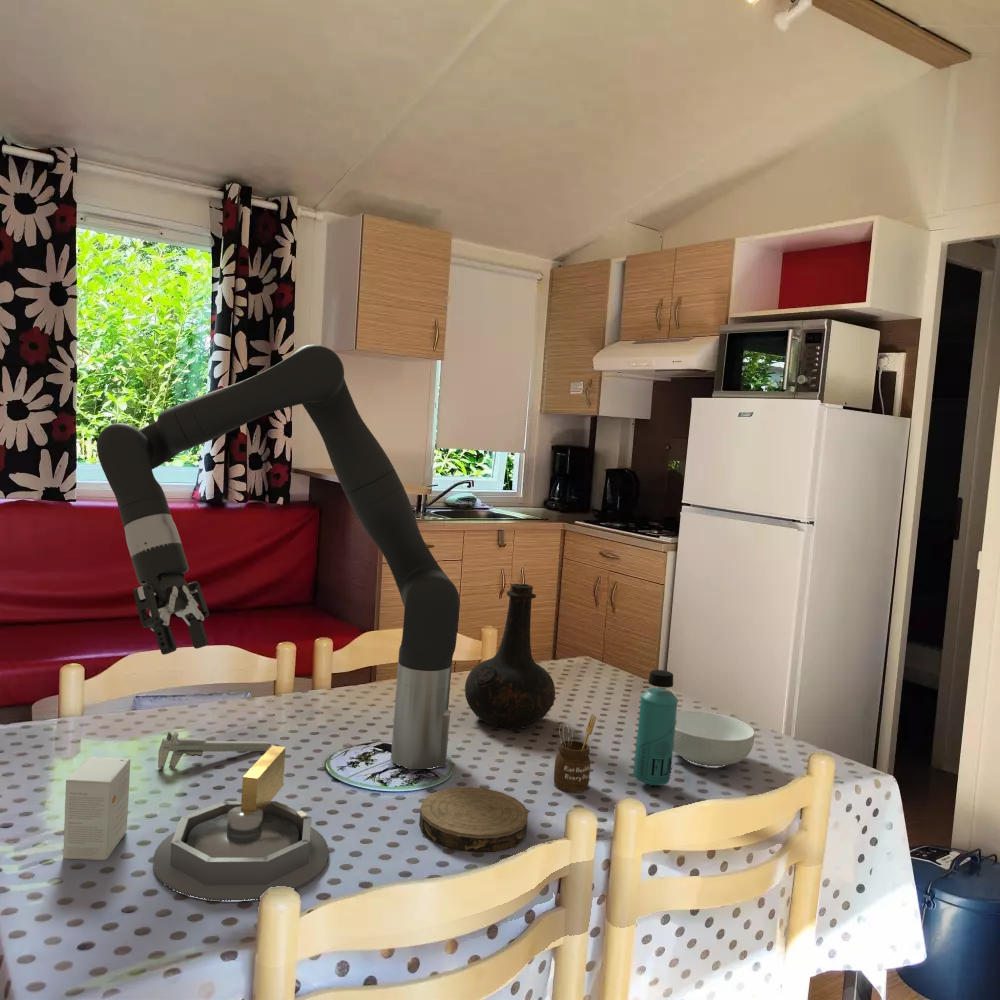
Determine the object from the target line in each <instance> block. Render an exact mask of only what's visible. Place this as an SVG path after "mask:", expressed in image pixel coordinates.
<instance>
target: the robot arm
mask: <svg viewBox="0 0 1000 1000" xmlns="http://www.w3.org/2000/svg"><path fill="white" fill-rule="evenodd" d="M298 405H302V406H303V408H304V410H305V411H306V412H307V414H308V416H309V417H310V419H311V420H312V422H313V424H314V425H315V427H316V428H317V430H318V432H319V434H320V436H321V438H322V440H323V443H324V446H325V448H326V450H327V454H328V457H329V460H330V463H331V466H332V468H333V470H334V473H335V475H336V478H337V480H338V482H339V484H340V487H341V488H342V490H343V492H344V495H345V497H346V498H347V501H348V502H349V504H350V506H351V508H352V510H353V512H354V514H355V515H356V517H357V518H358V520H359V522H360V524H361V525H362V526H363V528H364V529H365V531H366V533H367V534H368V535H369V537H370V538H371V540H372V541H373V542H374V543H375V545H376V546H377V547H378V549H379V550H380V552H381V553H382V555H383V556H384V559H385V561H386V563H387V565H388V567H389V570H390V573H392V576H393V578H394V581H395V583H396V584H395V585H396V587H397V589H398V592H399V596H400V598H401V602H402V604H403V607H404V613H403V624H402V637H401V643H400V646H399V648H398V649H399V650H398V659H397V661H398V662H397V673H396V687H395V700H394V714H393V726H392V741H391V749H390V750H391V753H390V754H391V755H390V760H391V759H392V760H391V762H392V761H393V762H394V763H396V764H398V765H400V766H403V767H407V768H411V769H410V770H413V769H427V768H433V767H437V766H447V758H448V757H447V756H448V754H447V753H448V745H449V744H448V742H449V730H450V719H451V718H450V717H451V712H450V709H449V706H450V705H449V704H450V691H451V682H452V681H451V680H452V670H453V669H452V666H453V657H454V653H455V651H456V645H457V639H458V628H459V621H460V620H459V618H460V617H459V616H460V605H461V604H460V594H459V591H458V589H457V587H456V585H455V584H454V582H453V581H452V580H451V579H450V577H449V576H448V575H447V574H446V573H445V572H444V571H443V569H442V567H440V565H439V563H438V562H437V560H436V559H435V557H434V555H433V554H432V552H431V550H430V549H429V548H428V546H427V544H426V542H425V540H424V538H423V536H422V535H421V531H420V529H419V526H418V521H417V519H416V515H415V513H414V509H413V506H412V504H411V502H410V501H411V500H410V498H409V497H408V493H407V491H406V489H405V487H404V485H403V483H402V481H401V479H400V476H399V475H398V473H397V471H396V469H395V468H394V465H393V464H392V462H391V460H390V457H388V454H387V453H386V451H384V449H383V447H382V446H381V444H380V443H379V441H378V440H377V438H376V437H375V436H374V434H373V433H372V431H370V429H369V427H368V425H366V423H365V422H364V419H362V416H361V415H360V413H359V411H358V409H357V407H356V405H355V402H354V400H353V396H352V394H351V393H350V390H349V387H348V385H347V382H346V379H345V368H344V365H343V362H342V360H341V358H340V357H339V355H338V354H337V353H336V352H335V351H334V350H333V349H331V348H329V347H327V346H324V345H321V344H307V345H305V346H304V345H303V346H301V347H300V348H298V349H296V350H295V351H294V352H293V353H292V354H291V355H289V356H287V357H286V358H285V359H283V360H281V361H280V362H278V363H276V364H275V365H273V366H271V367H270V368H269V367H268V369H266V370H264V371H261V372H259V373H258V374H256V375H253V376H251V377H249V378H247V379H244V380H242V381H239V382H236V383H233V384H231V385H228V386H224V387H222V388H220V389H216V390H213V391H210V392H207V393H205V394H201V395H199V396H197V397H194V398H191V399H189V400H185V401H184V402H182V403H179V404H177V405H174V406H171V407H169V408H167V409H164V410H163V411H161V412H160V413H159V414H158V416H157V420H156V421H154V422H152V423H151V424H148V425H146V426H145V427H143V428H140V429H138V428H137V427H136V426H134V425H131V424H129V423H124V422H116V423H115V422H114V423H111V424H109V425H107V426H106V427H104V429H103V430H102V431H101V432H100V434H99V435H98V437H97V441H96V452H97V458H98V461H99V464H100V466H101V469H102V471H103V473H104V475H105V478H106V480H107V482H108V484H109V486H110V488H111V490H112V492H113V494H114V497H115V499H116V503H117V508H118V511H119V516H120V519H121V522H122V525H123V529H124V533H125V541H126V544H127V548H128V551H129V556H130V559H131V561H132V566H133V568H134V572H135V575H136V579H137V583H138V584H139V585H141V586H139V587H136V588H134V589H133V590H132V591H133V597H134V601H135V605H136V608H137V609H136V610H137V612H138V616H139V620H140V623H141V626H142V628H144V629H145V628H149V629H150V630H151V631H152V632H154V635H155V638H156V641H157V645H158V648H159V650H160V653H161V655H164V656H165V655H169V654H171V653H173V652H176V651H177V650H178V649H177V645H176V641H175V637H174V635H173V630H172V627H171V626H169V625H170V619H171V615H172V614H175V615H176V616H177V617H179V618H182V619H183V621H184V622H185V623H186V625H187V629H188V630H187V631H188V633H189V636H190V640H191V642H192V645H193V648H194V649H197V650H198V649H201V648H203V647H207V646H208V645H209V640H208V637H207V633H206V629H205V626H204V623H203V621H204V620H205V619H206V618H208V617H209V616H210V612H209V608H208V606H207V603H206V600H205V597H204V594H203V591H202V589H201V585H200V583H199V581H198V580H195V581H192V582H189V583H187V581H186V580H185V577H184V576H185V574H186V573H188V571H189V570H190V567H189V564H188V560H187V558H186V557H187V556H186V554H185V551H184V547H183V544H182V541H181V537H180V534H179V531H178V529H177V526H176V523H175V522H174V520H173V516H172V513H171V510H170V507H169V504H168V503H169V502H168V499H167V498H166V495H165V494H166V493H165V492H164V490H163V488H162V486H161V485H160V483H159V482H158V480H157V479H156V477H155V475H154V472H153V470H154V469H156V468H158V467H160V466H161V465H163V464H165V463H166V462H168V461H170V460H171V459H173V458H174V457H176V456H177V455H179V454H181V452H184V451H186V450H191V449H193V448H195V447H198V446H200V445H202V444H205V443H206V442H209V441H212V440H214V439H217V438H219V437H222V436H224V435H226V434H228V433H230V432H232V431H234V430H236V429H238V428H240V427H242V426H244V425H246V424H248V423H250V422H253V421H254V420H257V419H259V418H261V417H263V416H266V415H269V414H272V413H274V412H278V411H279V410H283V409H287V408H291V407H294V406H298ZM198 607H199V608H200V609H199V608H198ZM148 610H149V614H147V611H148ZM148 615H149V616H150V617H148ZM393 762H392V763H393ZM394 763H393V764H394ZM396 764H395V765H396ZM400 766H399V767H400ZM403 767H402V768H403ZM437 768H438V767H437Z"/></svg>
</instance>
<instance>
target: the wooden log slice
mask: <svg viewBox="0 0 1000 1000" xmlns="http://www.w3.org/2000/svg"><path fill="white" fill-rule="evenodd" d="M419 811H420V812H419V822H418V826H419V829H420V832H421V834H423V836H425V838H426V839H428V841H430V842H432V843H434V844H436V845H438V846H440V847H442V848H444V849H445V848H446V849H448V850H453V851H456V852H460V853H469V854H495V853H500V852H504V851H507V850H508V851H509V850H510V849H511V850H512V849H513V848H515V847H516V846H519V845H520V844H522V842H523V841H524V840H525V839H526V838H527V827H528V819H529V818H528V817H529V811H528V809H527V808H526V806H525V805H524V803H522V802H521V801H520V800H518V799H517V798H515V797H513V796H511V795H508V794H507V793H504V792H501V791H498V790H493V789H490V788H484V787H483V788H482V787H474V786H469V787H468V786H465V787H459V786H457V787H451V788H450V787H449V788H444V789H441V790H438V791H435V792H432V793H430V794H429V795H428V796H426V798H424V799H422V801H421V805H420V809H419Z"/></svg>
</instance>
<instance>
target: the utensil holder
mask: <svg viewBox="0 0 1000 1000" xmlns="http://www.w3.org/2000/svg"><path fill="white" fill-rule="evenodd" d="M596 719H597V716H596V715H594V714H593V713H591V715H590V717H589V720H588V723H587V727H586V729H585V732H586V736H585V738H584V741H580V740H574V738H571V739H570V738H568V739H566V740H565V736H564V735H563V739H564V740H562V739H561V738H559V740H560V743H559V745H558V747H557V748H558V752H557V754H556V756H555V761H554V767H553V768H554V770H553V784H554V787H555V786H556V787H557V788H558V789H560V790H562V791H564V792H568V793H569V792H570V793H580V792H584V791H585V790H586V789H587V788H588V787H589V782H590V776H591V775H590V773H591V759H590V756H589V755H590V752H591V750H590V746H589V745H588V743H587V742H588V740H589V736H590V735H592V734H593V731H594V726H595V723H596ZM564 725H566V726H567V732H570V731H569V727H568V726H570V728H571V729H573V727H572V724H571V723H570V722H567V721H563V722H560V725H559V726H558V728H561V726H562V734H565V732H564V729H565V727H564ZM560 731H561V730H560V729H558V733H559V736H561V732H560ZM573 734H574V733H573V731H571V736H574V735H573Z"/></svg>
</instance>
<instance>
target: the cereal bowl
mask: <svg viewBox="0 0 1000 1000" xmlns="http://www.w3.org/2000/svg"><path fill="white" fill-rule="evenodd" d="M675 730H676V732H675V733H674V737H675V738H674V744H673V748H674V749H673V753H675V754H676V755H678V756H680V757H682V758H683V757H684V758H685V759H687V760H689V761H691V762H694V763H697V764H701V765H707V766H723V765H725V766H726V765H732V764H736V763H739V762H741V761H743V760H744V759H746V758H747V757H748V756H749V754H750V753H751V751H752V749H753V747H754V743H755V734H756V733H755V730H754V729H753V727H752V726H751V725H749V724H748V723H745V722H744V721H741V720H739V719H737V718H734V717H731V716H728V715H724V714H719V713H715V712H710V711H709V712H708V711H703V710H677V711H676V723H675ZM684 758H683V759H684Z"/></svg>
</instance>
